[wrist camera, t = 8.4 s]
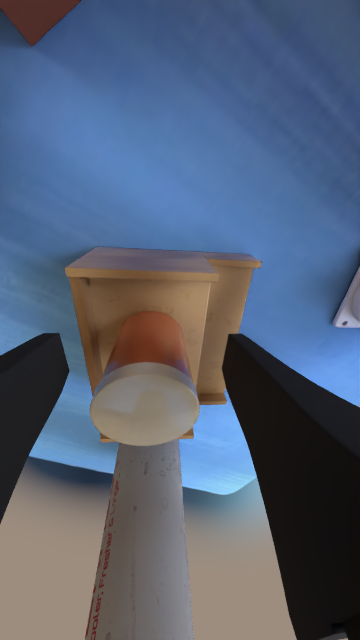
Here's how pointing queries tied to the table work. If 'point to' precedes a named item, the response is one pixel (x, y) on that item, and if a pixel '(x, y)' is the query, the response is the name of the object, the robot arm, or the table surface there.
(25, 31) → the hanging shelf
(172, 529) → the thermos bottle
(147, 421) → the spice jar
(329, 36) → the table surface
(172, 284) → the spice rack
